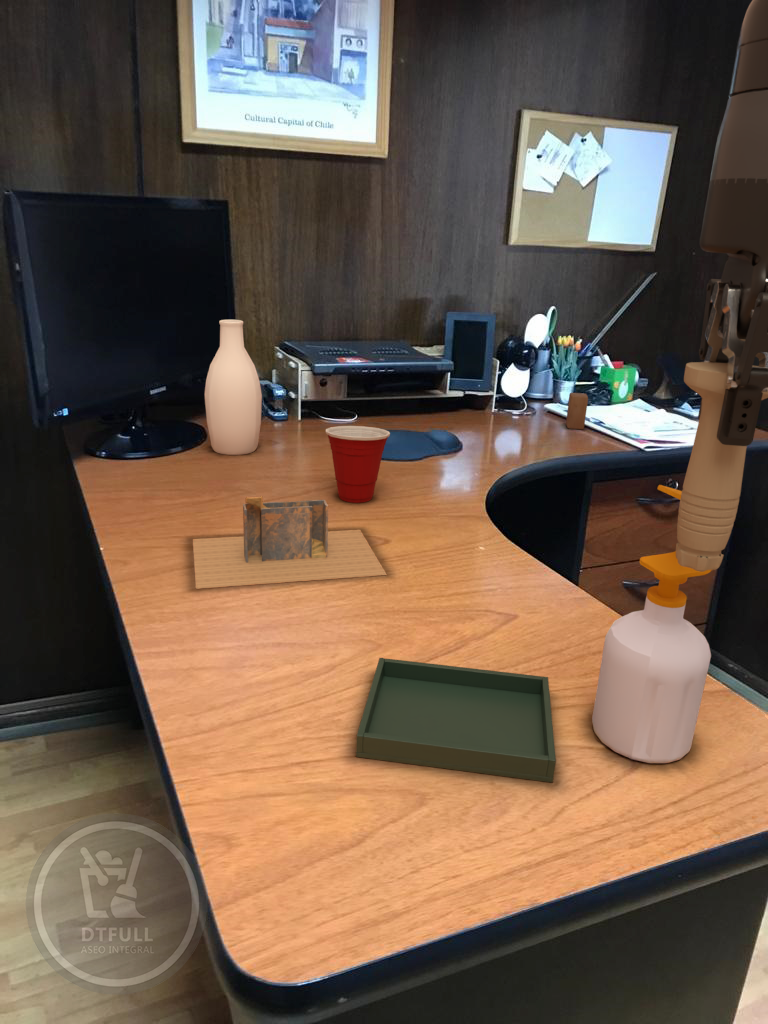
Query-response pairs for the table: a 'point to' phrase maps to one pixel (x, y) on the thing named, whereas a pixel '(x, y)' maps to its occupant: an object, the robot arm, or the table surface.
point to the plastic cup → (356, 460)
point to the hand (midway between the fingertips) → (723, 432)
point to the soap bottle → (653, 670)
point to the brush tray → (459, 720)
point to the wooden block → (576, 410)
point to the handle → (709, 476)
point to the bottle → (233, 395)
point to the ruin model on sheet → (283, 548)
